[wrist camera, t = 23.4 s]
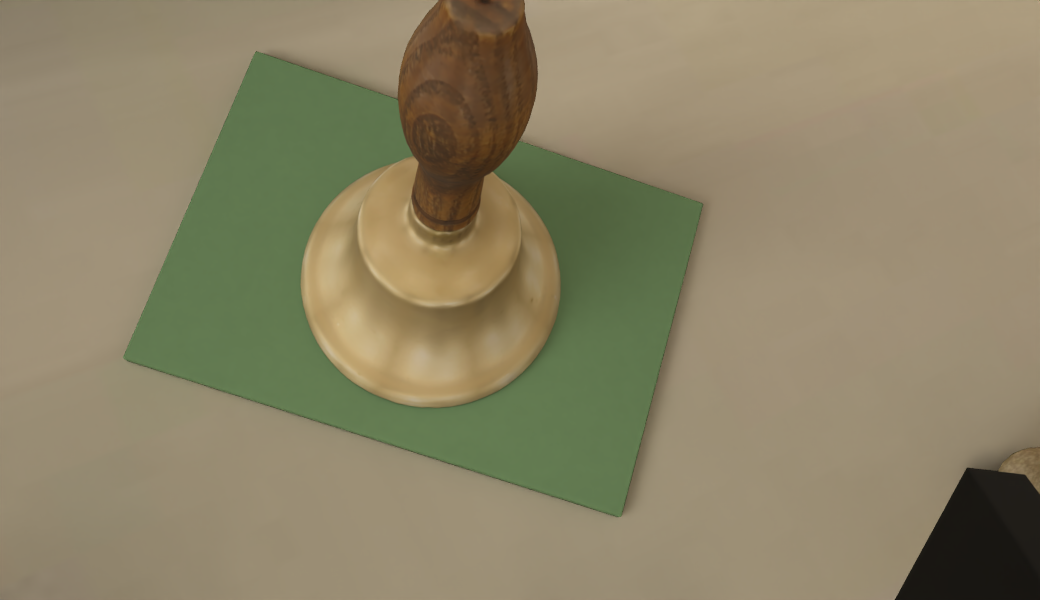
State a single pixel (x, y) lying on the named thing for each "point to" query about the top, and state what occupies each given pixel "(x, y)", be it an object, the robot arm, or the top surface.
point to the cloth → (341, 403)
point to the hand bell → (441, 227)
